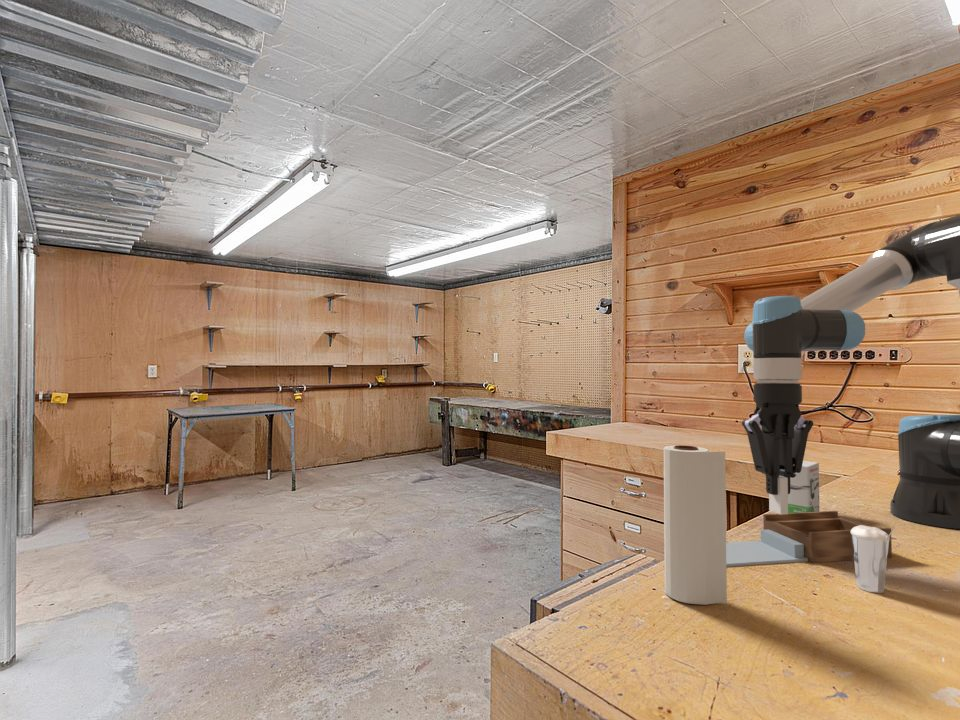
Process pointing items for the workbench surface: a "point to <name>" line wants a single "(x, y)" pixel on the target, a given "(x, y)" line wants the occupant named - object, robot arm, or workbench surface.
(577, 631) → the workbench surface
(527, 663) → the workbench surface
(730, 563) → the lid
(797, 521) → the case
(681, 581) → the paper towel roll
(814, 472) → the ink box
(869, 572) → the milkshake
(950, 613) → the workbench surface
